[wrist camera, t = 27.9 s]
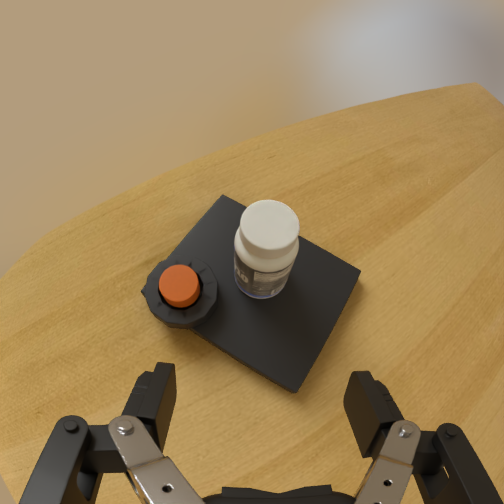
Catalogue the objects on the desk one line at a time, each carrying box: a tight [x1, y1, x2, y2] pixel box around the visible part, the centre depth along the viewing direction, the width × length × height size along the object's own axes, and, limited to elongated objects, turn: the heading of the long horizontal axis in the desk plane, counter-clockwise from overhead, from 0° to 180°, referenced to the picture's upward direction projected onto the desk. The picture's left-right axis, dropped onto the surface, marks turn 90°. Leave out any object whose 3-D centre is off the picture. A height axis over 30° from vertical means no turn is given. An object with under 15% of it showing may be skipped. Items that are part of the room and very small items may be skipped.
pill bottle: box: [234, 200, 300, 299], centre depth 24 cm, size 5×5×8 cm
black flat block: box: [141, 195, 361, 393], centre depth 27 cm, size 16×14×3 cm
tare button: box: [159, 265, 200, 308], centre depth 25 cm, size 3×3×2 cm
